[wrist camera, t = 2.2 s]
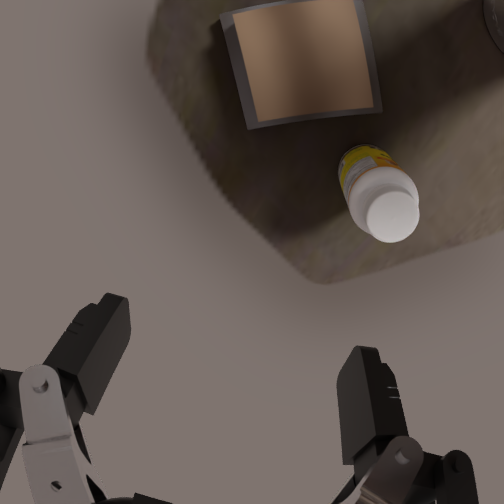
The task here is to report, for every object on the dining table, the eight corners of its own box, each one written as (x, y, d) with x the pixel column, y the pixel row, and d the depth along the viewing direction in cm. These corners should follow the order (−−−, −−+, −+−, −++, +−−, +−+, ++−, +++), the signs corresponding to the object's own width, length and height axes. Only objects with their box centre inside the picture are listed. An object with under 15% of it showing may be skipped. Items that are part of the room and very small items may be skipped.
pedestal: (357, -3, 19) (368, -14, 15) (378, 110, 25) (392, 118, 21) (222, 16, 22) (210, 8, 18) (249, 126, 27) (242, 137, 24)
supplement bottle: (401, 178, 28) (440, 229, 19) (355, 206, 30) (377, 265, 22) (373, 131, 26) (410, 164, 17) (325, 161, 28) (339, 208, 20)
